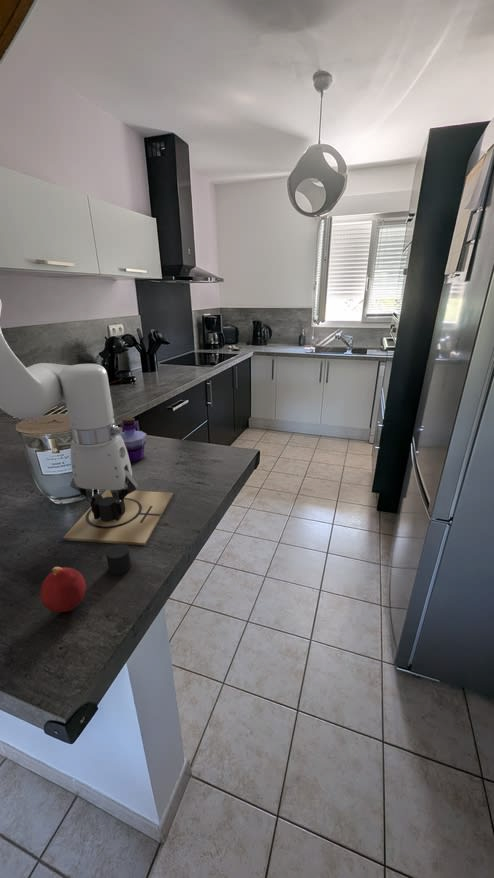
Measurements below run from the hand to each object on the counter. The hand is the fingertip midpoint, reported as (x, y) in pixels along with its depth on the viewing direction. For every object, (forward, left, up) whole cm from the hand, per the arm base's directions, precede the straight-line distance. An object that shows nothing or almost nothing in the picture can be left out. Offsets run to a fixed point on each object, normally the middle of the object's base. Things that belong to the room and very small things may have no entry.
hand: (109, 515), depth 73 cm
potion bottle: (-7, +29, -2) cm, 30 cm away
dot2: (+8, -13, -1) cm, 15 cm away
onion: (+4, -22, -2) cm, 22 cm away
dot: (0, 0, 0) cm, 0 cm away
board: (+2, +2, -1) cm, 3 cm away
